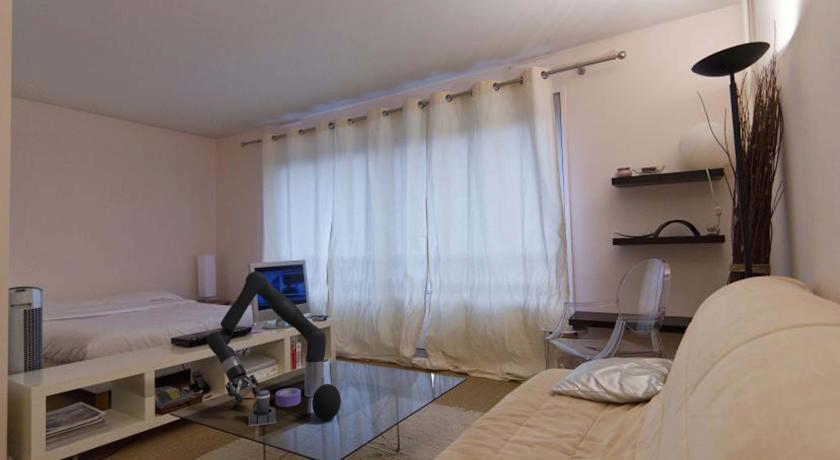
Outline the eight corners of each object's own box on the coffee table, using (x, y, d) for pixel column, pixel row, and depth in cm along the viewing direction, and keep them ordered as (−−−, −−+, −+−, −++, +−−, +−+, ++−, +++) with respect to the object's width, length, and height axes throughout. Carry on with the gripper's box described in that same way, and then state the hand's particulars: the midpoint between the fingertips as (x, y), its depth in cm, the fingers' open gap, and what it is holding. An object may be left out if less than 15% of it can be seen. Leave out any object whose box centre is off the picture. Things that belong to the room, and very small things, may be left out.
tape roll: (277, 408, 190) (277, 397, 190) (273, 400, 200) (273, 389, 200) (302, 404, 195) (303, 394, 196) (298, 396, 206) (298, 386, 206)
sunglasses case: (252, 409, 187) (245, 396, 188) (238, 417, 187) (231, 404, 187) (264, 395, 205) (258, 384, 206) (252, 402, 205) (245, 391, 205)
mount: (274, 413, 184) (275, 405, 184) (276, 423, 174) (276, 414, 174) (248, 416, 180) (249, 408, 180) (248, 426, 170) (249, 417, 170)
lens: (268, 415, 180) (269, 389, 181) (268, 419, 175) (270, 393, 176) (255, 416, 178) (256, 390, 179) (255, 421, 173) (256, 394, 174)
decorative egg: (325, 427, 170) (327, 391, 171) (305, 420, 177) (306, 385, 178) (346, 418, 181) (347, 383, 182) (325, 411, 187) (327, 378, 188)
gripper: (224, 367, 179) (240, 399, 173) (251, 360, 192) (267, 389, 186) (215, 377, 181) (231, 409, 175) (242, 370, 194) (258, 399, 188)
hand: (249, 399), depth 181 cm, fingers open, 8 cm apart
